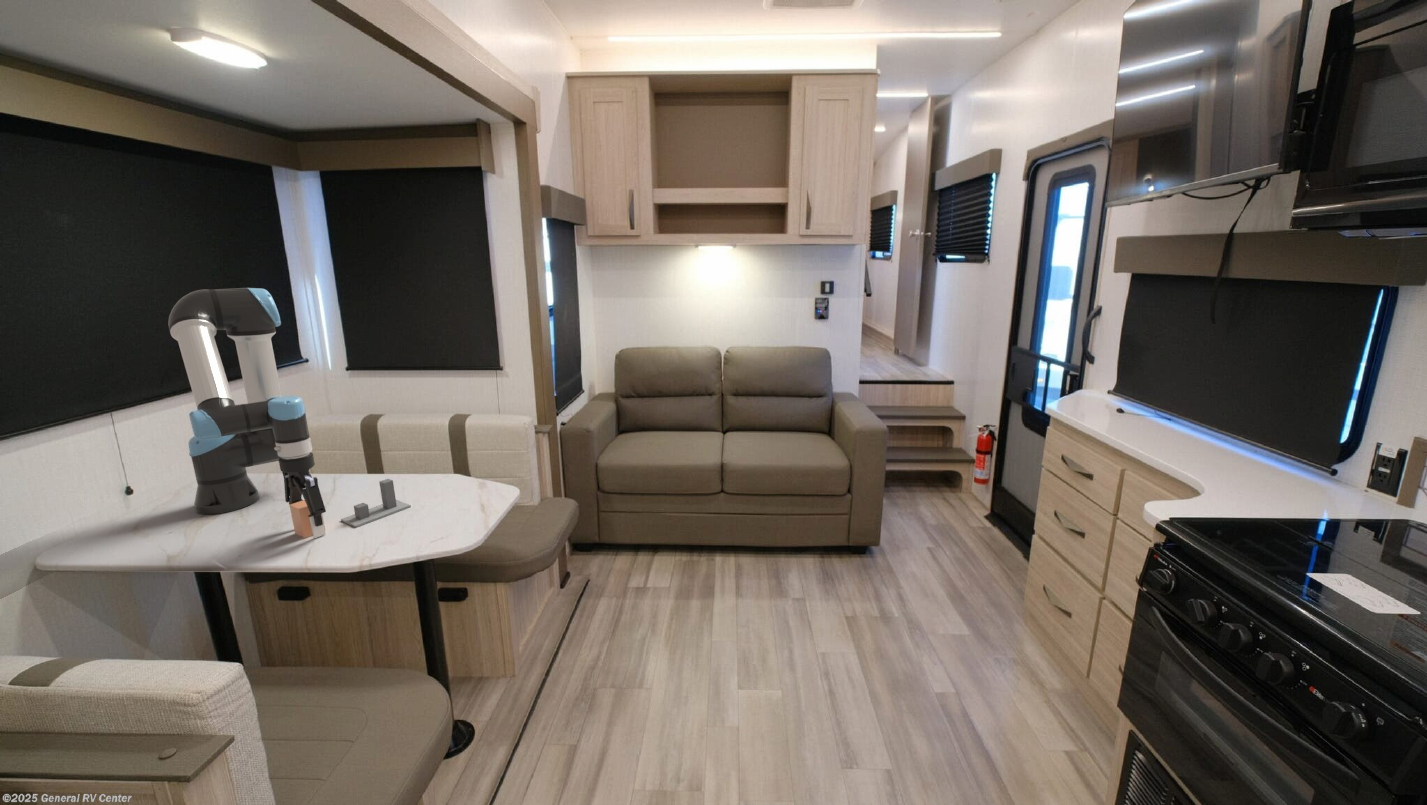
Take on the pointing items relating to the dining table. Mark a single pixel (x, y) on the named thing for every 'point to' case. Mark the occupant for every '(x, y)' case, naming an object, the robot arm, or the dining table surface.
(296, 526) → the orange block
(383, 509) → the stand
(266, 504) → the dining table surface
